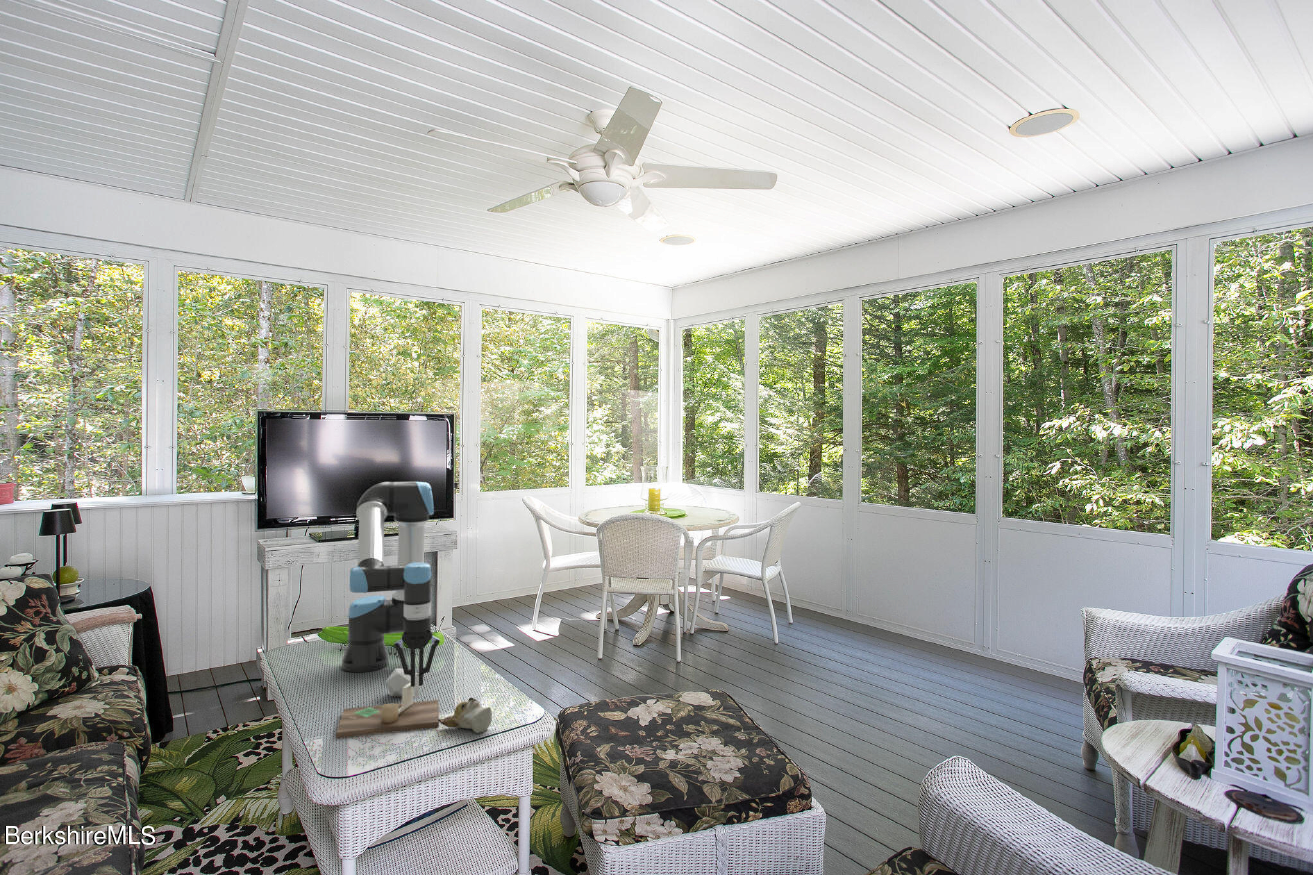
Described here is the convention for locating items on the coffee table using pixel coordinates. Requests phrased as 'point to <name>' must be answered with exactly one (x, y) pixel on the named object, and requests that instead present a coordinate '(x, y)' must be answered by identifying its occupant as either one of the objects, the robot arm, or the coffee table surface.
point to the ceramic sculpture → (469, 716)
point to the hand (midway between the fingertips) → (416, 696)
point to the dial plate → (370, 723)
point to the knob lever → (391, 710)
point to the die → (397, 682)
